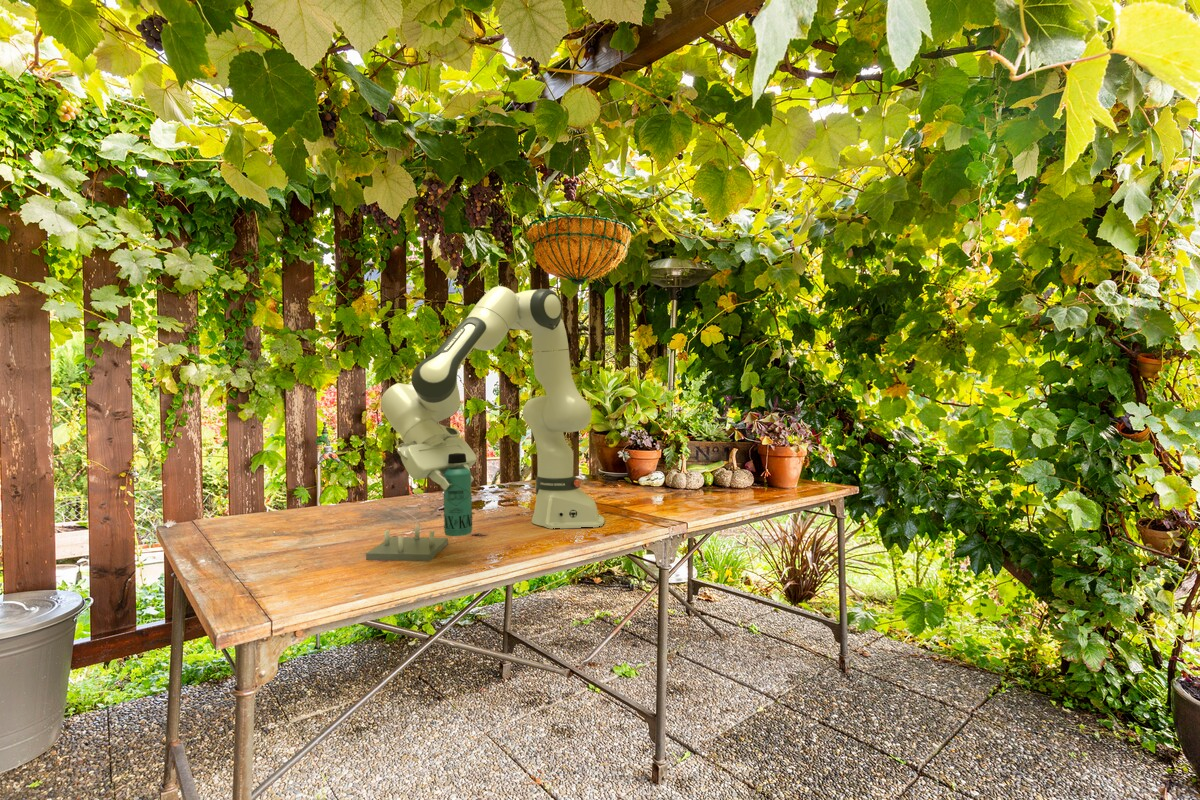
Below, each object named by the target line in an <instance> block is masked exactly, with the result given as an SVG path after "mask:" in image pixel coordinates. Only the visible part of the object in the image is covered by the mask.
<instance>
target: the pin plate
mask: <svg viewBox="0 0 1200 800" xmlns="http://www.w3.org/2000/svg"><path fill="white" fill-rule="evenodd" d="M420 527H421V526H420V525H419V524H417V525H416V524H415V525H414V537H413V536H402V535H401V536H391V534H390V529H389V530H387V529H386V530H384V531H383V532H384V536H383V537H384V540H383V542H381V543H380V544H378V545H376V546H375V547H373V548H372V549H371V550H370V551H367V552H366V553H365V559H366V561H409V562H411V561H412V562H413V561H415V562H416V561H417V562H430V561H432V559H433V558H434V557H436V556H437V555H438V554H439V553H440V552H441V551H442V550H444V548H445V547H446V546H447V545H448V544H449V537H435V530H430V531H429V533H428V534H429V536H428V537H421V536H420V531H421V530H420ZM439 551H440V552H439ZM438 552H439V553H438ZM437 553H438V554H437ZM436 554H437V555H436Z"/></svg>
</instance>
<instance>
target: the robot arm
mask: <svg viewBox="0 0 1200 800" xmlns="http://www.w3.org/2000/svg"><path fill="white" fill-rule="evenodd" d="M562 314H563V306H562V301H561V299H560V297H559V296H558V294H557V293H556V292H555V291H554V290H552V289H548V288H539V289H528V290H522V291H520V292H516V293H515V292H514V291H513V290H512V289H510V288H508V287H506V286H502V285H501V286H500V285H499V286H498V285H497V286H494V287H491V288H490V289H489V290H488V291H487V292H486V293H485V294H484V295H483V296H482V297H481V298H480V299H479V301H477V303H476V304H475V306H474V307H473V308H472V309H471V311H470V313H469V314H467V315H468V316H467V317H465V319H463V320H462V321H461V322H460V323H459V324H458V325H457V326H456V328H454V330H453V331H452V332H451V334H450V335H449V336H448V337H447V338H446V339H445V341H444V342H442V344H441V346H439V347H438V349H436V351H434V352H433V353H432V354H431V355H429V356H428V357H426V358H425V359H423V360H422V361H421V362H419V363H418V364H417V365H416V366H415V368H414V369H413V371H412V373H411V378H410V379H411V384H405V383H402V382H398V383H395V384H393V385H391V386H390V387H388V388H387V389H386V390H385V391H384V393H383V394H382V397H381V399H380V408H381V410H382V413H383V415H384V417H385V418H386V420H387V421H388V422H389V424H390V426H391V427H392V429H394V431H395V432H397V433H398V434H399V435H400V437H401V440H402V442H403V443H400V444H398V446H397V447H396V451H397V454H398V455H399V456H400V460H401V462H402V464H403V466H404V469H405V470H406V471H407V473H408V474H409V476H410V477H411V478H412V479H414V480H421V479H422V480H423V479H427V478H430V480H431V481H433V482H434V483H436V484H438V485H439V486H440V487H441V489H442V490H443V491H444V490H445V489H449V488H450V487H451V486H452V483H451V482H450V480H449V479H445V478H444V475H443V474H444V472H445V471H446V470H447V469H448V468H454V467H466V468H467V469H468V470H470V469H471V468H472V467H473V466H474V464H475V463H476V462H477V455H476V453H475V452H474V451H473V448H471V447H470V445H469V444H468V443H467V441H466V440H465V439H464V438H462V437H460V436H461V433H460V432H459V430H457V428H453V427H449V426H446V425H444V424H443V425H442V424H441V423H440V422H443V421H444V420H447V419H449V418H451V417H452V416H454V415H455V414H456V413H457V412H458V410H459V409H460V406H461V397H460V390H459V385H458V372H459V369H460V366H461V365H462V364H463V363H464V361H465V360H466V359H467V357H468V356H469V355H470V354H471V352H472V351H473V349H476V350H479V351H485V352H488V351H492V350H494V349H496V347H498V346H499V344H501V342H502V341H503V340H504V339H505V337H506V335H507V334H508V333H509V331H512V332H513V331H517V330H518V331H526V330H527V331H529V332H530V334H531V349H532V359H533V369H534V370H533V371H534V377H535V380H536V381H537V382H538V383H539V384H541V386H542V387H543V389H544V392H545V394H546V395H539V396H536V397H535V396H534V397H532V398H530V399H528V400H527V401H526V402H525V404H524V406H523V408H522V416H523V421H524V422H525V424H526V425H527V426H528V427H529V429H530V431H531V432H532V436H533V438H534V442H535V447H536V453H537V454H536V455H537V457H536V458H537V475H536V476H535V486H534V487H535V489H534V490H535V494H536V498H535V506H534V511H533V515H532V519H531V523H532V524H534V525H536V526H541V527H545V528H547V529H551V530H555V528H560V529H582V528H581V527H593V528H600V527H602V526H604V525H605V517H604V516H603V515H601V514H599V513H598V507H597V503H596V501H595V500H594V499H593V498H592V497H591V496H590V495H588V494H587V493H586V492H585V491H583V490H582V489H581V488H580V486H581V480H580V478H579V477H577V476H575V475H574V451H573V448H572V447H571V446H570V445H569V444H568V443H567V442H568V441H566V437H565V435H564V433H574V432H579V431H583V430H585V429H586V428H587V427H589V425H590V422H591V419H592V409H591V405H590V404H589V403H588V402H587V401H586V399H585V398H584V397H582V395H581V394H580V392H579V390H578V389H577V386H576V383H575V381H574V378H573V375H572V369H571V361H570V350H569V349H570V348H569V342H568V341H569V340H568V335H567V330H566V328H565V323H564V320H563V318H562ZM454 453H464V454H465V455H466V462H465V463H448V456H449V454H454ZM470 471H471V470H470ZM472 482H474V477H473V476H472V474H471V484H472ZM603 524H604V525H603ZM599 526H600V527H599ZM553 528H554V529H553Z"/></svg>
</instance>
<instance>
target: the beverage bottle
mask: <svg viewBox="0 0 1200 800" xmlns="http://www.w3.org/2000/svg"><path fill="white" fill-rule="evenodd" d="M465 462H466V455H465V454H464V453H454V454H449V456H448V463H465ZM471 475H472V472H471V470H468V469H467V468H466V467H454V468H448V469H447V470H446V471H445V472H444V474H442V476H443V477H444V478H445V479H449V480H450V482H451V483H452V486H451V487H450V488H449V489H445V490H444V489H443V529H444V535H445V536H448V537H462V536H466V535H470V534H471V533H472V531H473V526H474V525H473V515H474V514H473V502H472V499H473V495H472V483H471Z"/></svg>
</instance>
